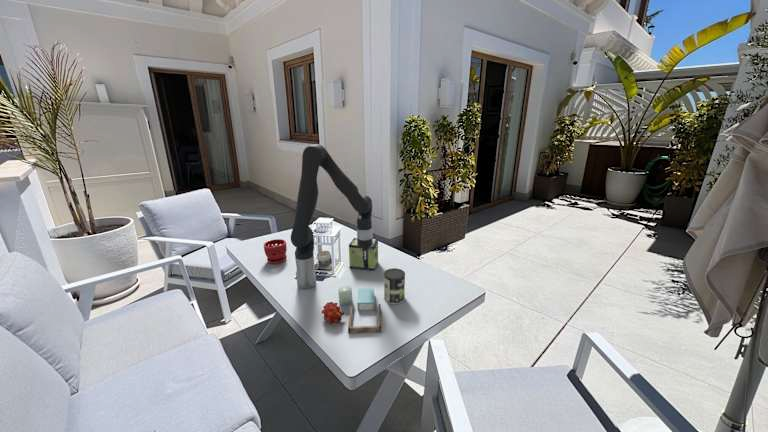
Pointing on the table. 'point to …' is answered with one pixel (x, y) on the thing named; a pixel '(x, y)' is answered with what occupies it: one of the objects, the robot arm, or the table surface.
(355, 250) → the protein box
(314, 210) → the robot arm
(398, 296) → the coffee can
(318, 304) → the table surface
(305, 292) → the table surface
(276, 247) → the plant pot
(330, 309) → the dragon fruit
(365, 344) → the table surface
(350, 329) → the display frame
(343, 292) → the pale green dome
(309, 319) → the table surface
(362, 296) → the teal carton
